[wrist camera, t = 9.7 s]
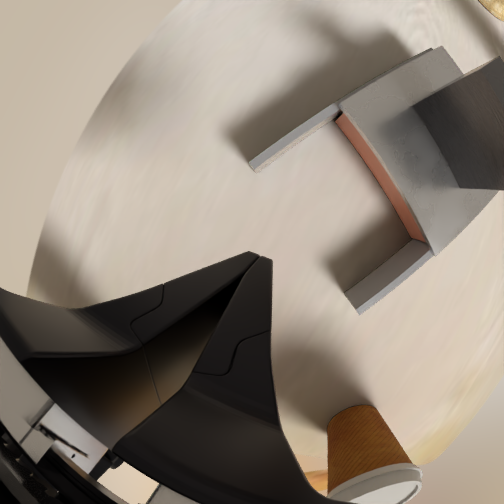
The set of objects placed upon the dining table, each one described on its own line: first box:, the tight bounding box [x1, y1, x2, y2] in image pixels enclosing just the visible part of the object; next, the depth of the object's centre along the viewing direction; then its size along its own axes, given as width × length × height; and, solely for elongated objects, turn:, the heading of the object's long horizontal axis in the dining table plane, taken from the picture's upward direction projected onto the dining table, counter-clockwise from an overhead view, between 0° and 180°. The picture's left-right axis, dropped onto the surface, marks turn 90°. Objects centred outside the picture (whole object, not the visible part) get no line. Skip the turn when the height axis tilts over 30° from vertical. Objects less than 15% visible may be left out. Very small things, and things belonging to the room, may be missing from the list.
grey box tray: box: [249, 48, 433, 315], centre depth 18 cm, size 19×13×4 cm
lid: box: [338, 46, 504, 256], centre depth 11 cm, size 13×13×9 cm
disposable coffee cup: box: [327, 405, 423, 504], centre depth 19 cm, size 10×10×12 cm
